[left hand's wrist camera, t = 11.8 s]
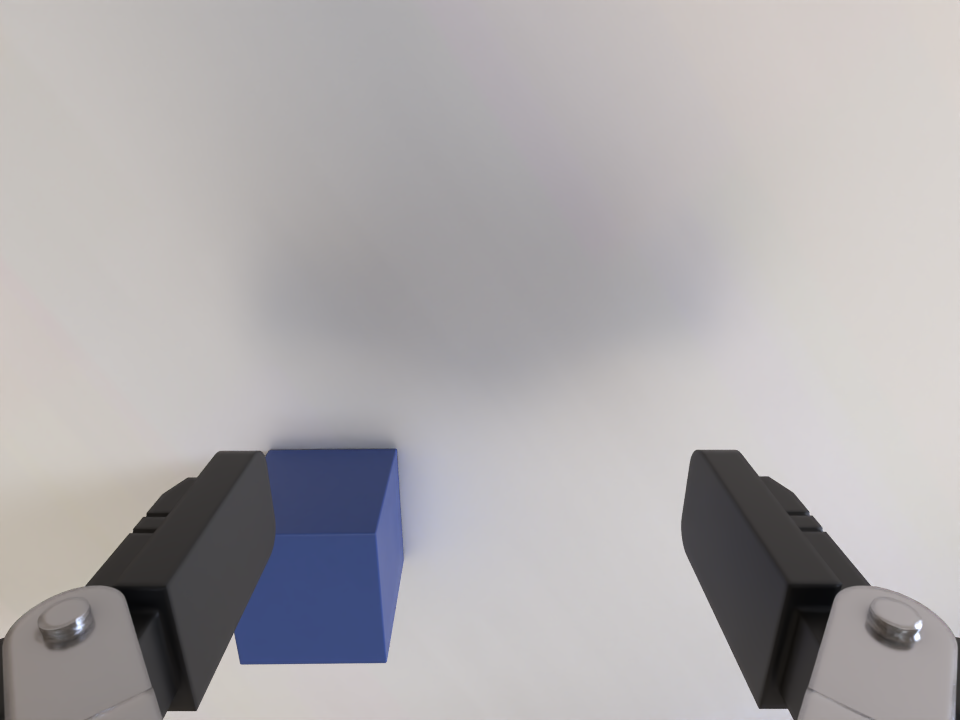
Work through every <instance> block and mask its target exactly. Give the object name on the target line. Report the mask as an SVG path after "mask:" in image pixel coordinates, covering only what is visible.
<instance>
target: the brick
mask: <svg viewBox="0 0 960 720" xmlns="http://www.w3.org/2000/svg"><path fill="white" fill-rule="evenodd" d="M265 458H266V462H267V468H268V475H269V481H270V488H271V495H272V501H273V508H274V515H275V522H276V533H275V541H274V546H273V550H272V553H271V556H270V558H269V560H268V562H267V564H266V566H265V568H264V570H263V573H262V575H261V577H260V579H259V581H258V583H257V585H256V587H255V589H254V591H253V594H252V596H251V598H250V600H249V602H248V604H247V606H246V608H245V610H244V612H243V614H242V617H241V619H240V621H239V623H238V625H237V627H236V629H235V631H234V634H235V639H236V644H237V649H238V654H239V660H240V664H332V663H386V662H387V657H388V651H389V645H390V639H391V633H392V627H393V621H394V615H395V609H396V603H397V597H398V591H399V585H400V579H401V573H402V567H403V561H404V556H403V540H402V524H401V509H400V493H399V477H398V461H397V450H396V449H335V450H269V452H268V453H267V455H266V456H265Z"/></svg>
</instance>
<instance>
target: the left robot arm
mask: <svg viewBox="0 0 960 720" xmlns="http://www.w3.org/2000/svg"><path fill="white" fill-rule="evenodd" d="M681 532H682V541H683V546H684V549H685V552H686V555H687V557H688V559H689V561H690V563H691V565H692V568H693V570H694V572H695V574H696V576H697V578H698V580H699V582H700V585H701V587H702V589H703V591H704V593H705V595H706V597H707V599H708V602H709V604H710V606H711V608H712V610H713V612H714V614H715V616H716V618H717V621H718V623H719V625H720V627H721V629H722V631H723V633H724V635H725V638H726V640H727V642H728V644H729V646H730V648H731V650H732V652H733V655H734V657H735V659H736V661H737V663H738V665H739V667H740V669H741V671H742V674H743V676H744V678H745V680H746V682H747V684H748V686H749V688H750V691H751V693H752V695H753V697H754V699H755V701H756V703H757V705H758V708H759V709H788V710H789V712H790V714H791V715H792V717H793V719H794V720H960V638H957V637H955V636H954V634H953V633H952V631H951V629H950V628H949V627H948V626H947V624H946V623H945V622H944V621H943V620H942V619H941V618H940V617H939V616H937V615H936V614H935V613H934V612H932V611H931V610H930V609H928V608H927V607H925V606H924V605H922V604H921V603H919V602H917V601H915V600H913V599H911V598H909V597H907V596H905V595H902V594H900V593H898V592H894V591H891V590H888V589H884V588H880V587H874V586H871V585H870V584H869V583H868V582H867V580H866V579H865V578H864V577H863V576H862V574H861V573H860V572H859V571H858V570H857V568H856V567H855V566H854V565H853V564H852V562H851V561H850V560H849V559H848V558H847V556H846V555H845V554H844V553H843V552H842V550H841V549H840V548H839V547H838V546H837V544H836V543H835V542H834V541H833V540H832V538H831V537H830V536H829V535H828V534H827V532H823V530H822V527H821V525H820V524H819V523H818V522H817V521H816V519H815V518H814V517H813V516H810V515H809V511H808V510H807V509H806V507H805V506H804V505H803V504H802V503H801V501H800V500H799V499H798V498H797V497H796V495H795V494H794V493H793V492H791V491H790V490H788V489H787V488H785V487H784V486H782V485H781V484H779V483H778V482H776V481H775V480H773V479H771V478H770V477H759V476H758V475H757V473H756V472H755V471H754V469H753V468H752V467H751V466H750V464H749V463H748V462H747V460H746V459H745V458H744V456H743V455H742V454H741V453H740V452H739V451H738V450H695V451H694V452H693V454H692V456H691V460H690V466H689V472H688V479H687V486H686V493H685V499H684V506H683V513H682V521H681ZM275 533H276V522H275V515H274V508H273V501H272V495H271V488H270V481H269V475H268V468H267V462H266V458H265V456H264V454H263V452H261V451H219V452H217V453H216V454H215V456H214V457H213V458H212V459H211V461H210V462H209V463H208V464H207V466H206V467H205V468H204V470H203V471H202V472H201V473H200V475H199V476H198V477H197V478H187V479H185V480H184V481H182V482H180V483H179V484H177V485H176V486H174V487H173V488H171V489H170V490H168V491H167V492H165V493H164V494H162V495H161V497H160V498H159V499H158V500H157V501H156V503H155V504H154V505H153V506H152V507H151V509H150V510H149V511H148V512H147V516H146V517H143V518H142V519H141V520H140V522H139V523H138V524H137V525H136V526H135V528H134V529H133V533H130V534H129V535H128V536H127V537H126V538H125V539H124V541H123V542H122V543H121V544H120V545H119V547H118V548H117V549H116V550H115V551H114V553H113V554H112V555H111V556H110V557H109V558H108V560H107V561H106V562H105V563H104V564H103V566H102V567H101V568H100V569H99V570H98V572H97V573H96V574H95V575H94V576H93V577H92V579H91V580H90V581H89V582H88V583H87V585H86V586H85V587H80V588H76V589H72V590H69V591H66V592H62V593H60V594H58V595H55V596H53V597H51V598H49V599H47V600H45V601H43V602H41V603H39V604H38V605H36V606H35V607H33V608H32V609H30V610H29V611H28V612H26V613H25V614H24V615H23V616H21V617H20V618H19V619H18V620H17V621H16V622H15V623H14V624H13V626H12V627H11V628H10V629H9V631H8V633H7V634H6V636H5V638H2V639H0V720H163V718H164V716H165V714H166V712H167V711H197V709H198V707H199V705H200V702H201V700H202V698H203V696H204V694H205V692H206V690H207V688H208V686H209V684H210V681H211V679H212V677H213V675H214V673H215V671H216V669H217V667H218V665H219V663H220V661H221V658H222V656H223V654H224V652H225V650H226V648H227V646H228V644H229V642H230V640H231V638H232V635H233V633H234V631H235V629H236V627H237V625H238V623H239V621H240V619H241V617H242V614H243V612H244V610H245V608H246V606H247V604H248V602H249V600H250V598H251V596H252V594H253V591H254V589H255V587H256V585H257V583H258V581H259V579H260V577H261V575H262V573H263V570H264V568H265V566H266V564H267V562H268V560H269V558H270V556H271V553H272V550H273V546H274V541H275Z"/></svg>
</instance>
